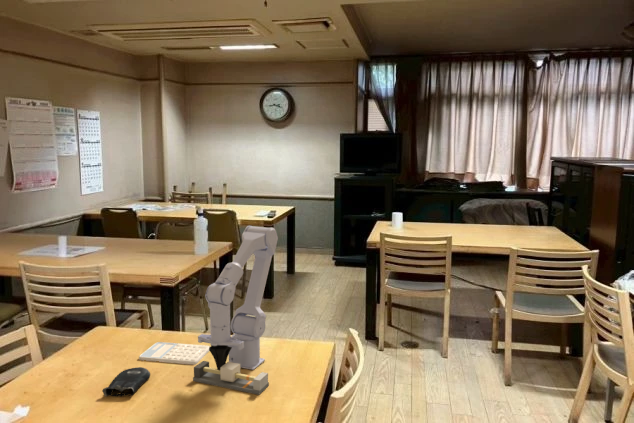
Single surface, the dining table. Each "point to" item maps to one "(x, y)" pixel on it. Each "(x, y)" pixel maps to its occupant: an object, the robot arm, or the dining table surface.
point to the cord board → (241, 383)
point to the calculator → (175, 353)
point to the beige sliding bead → (229, 371)
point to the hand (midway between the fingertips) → (221, 368)
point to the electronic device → (127, 381)
